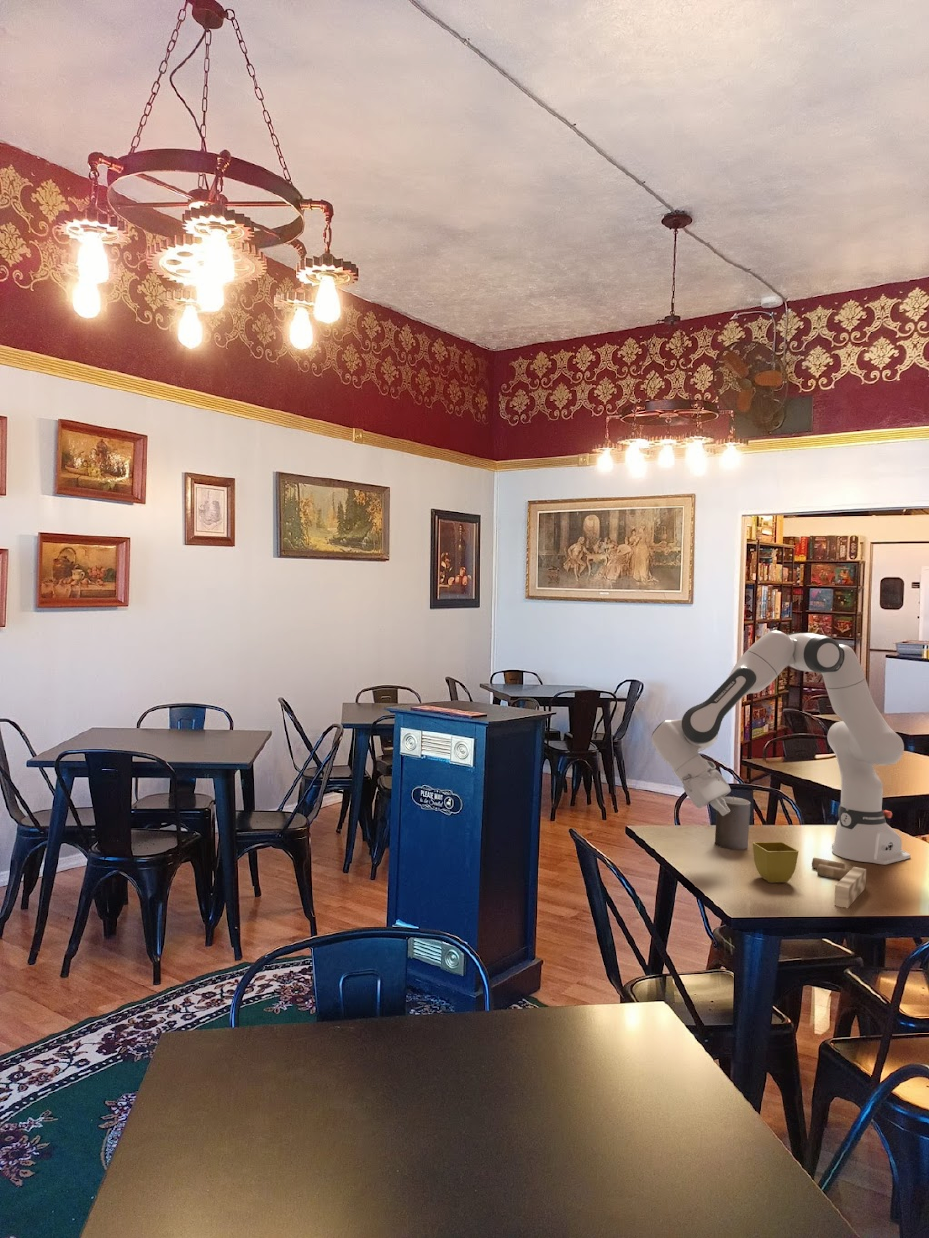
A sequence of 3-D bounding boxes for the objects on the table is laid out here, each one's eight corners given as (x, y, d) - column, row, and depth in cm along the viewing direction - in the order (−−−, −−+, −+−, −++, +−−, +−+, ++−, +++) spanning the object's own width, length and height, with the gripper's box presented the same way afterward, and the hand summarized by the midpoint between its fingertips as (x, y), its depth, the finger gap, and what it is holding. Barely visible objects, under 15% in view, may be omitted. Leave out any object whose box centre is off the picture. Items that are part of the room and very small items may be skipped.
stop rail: (852, 885, 232) (853, 866, 231) (865, 888, 230) (866, 869, 230) (834, 905, 215) (835, 885, 215) (847, 908, 214) (848, 887, 213)
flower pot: (766, 885, 229) (767, 851, 228) (750, 874, 237) (751, 841, 237) (797, 885, 230) (799, 851, 230) (780, 874, 239) (782, 841, 239)
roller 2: (816, 871, 239) (819, 861, 240) (818, 877, 240) (820, 867, 242) (848, 877, 234) (850, 868, 236) (849, 883, 236) (851, 874, 237)
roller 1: (811, 861, 245) (814, 855, 247) (812, 870, 246) (815, 863, 248) (842, 867, 240) (844, 861, 242) (842, 876, 241) (845, 869, 243)
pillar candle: (709, 844, 266) (711, 795, 265) (722, 838, 273) (725, 790, 272) (740, 852, 259) (743, 801, 259) (753, 845, 267) (756, 796, 266)
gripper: (688, 771, 237) (722, 813, 231) (715, 761, 253) (747, 800, 248) (671, 784, 239) (704, 827, 234) (699, 774, 256) (730, 813, 251)
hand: (726, 813), depth 241 cm, fingers closed
